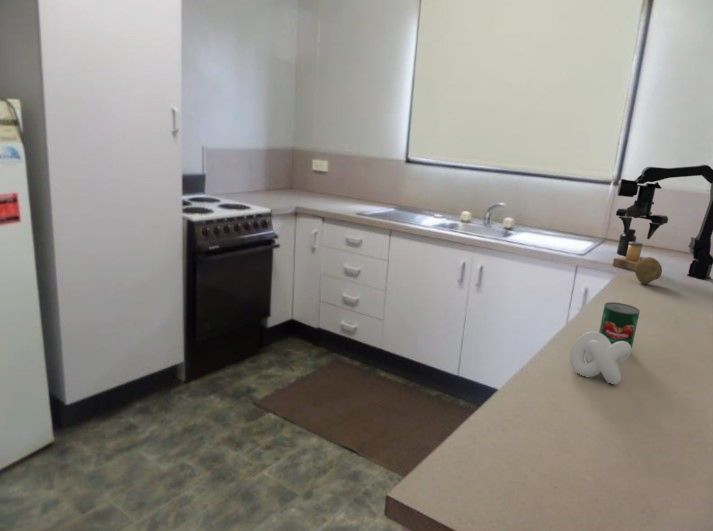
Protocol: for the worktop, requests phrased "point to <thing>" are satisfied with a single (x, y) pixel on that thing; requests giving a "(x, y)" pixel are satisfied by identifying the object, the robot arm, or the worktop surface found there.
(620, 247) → the supplement bottle
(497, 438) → the worktop surface
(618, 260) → the walnut plinth
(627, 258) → the spice jar
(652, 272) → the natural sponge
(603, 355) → the white knot sculpture
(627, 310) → the canned tomato
